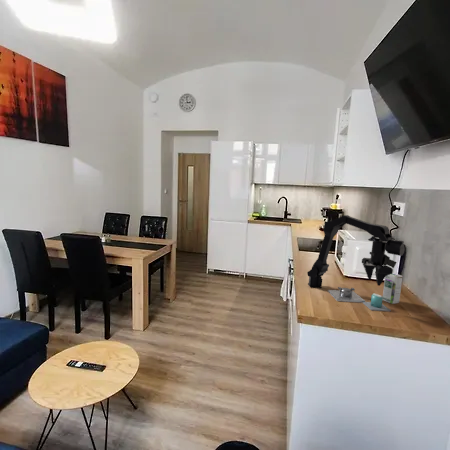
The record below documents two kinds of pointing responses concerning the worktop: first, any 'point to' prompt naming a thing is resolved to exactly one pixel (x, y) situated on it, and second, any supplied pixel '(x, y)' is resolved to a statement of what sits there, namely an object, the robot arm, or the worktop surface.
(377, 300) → the teal cylinder
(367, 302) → the coaster
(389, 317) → the worktop surface
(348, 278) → the worktop surface
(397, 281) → the syrup box
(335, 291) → the grey square plate
